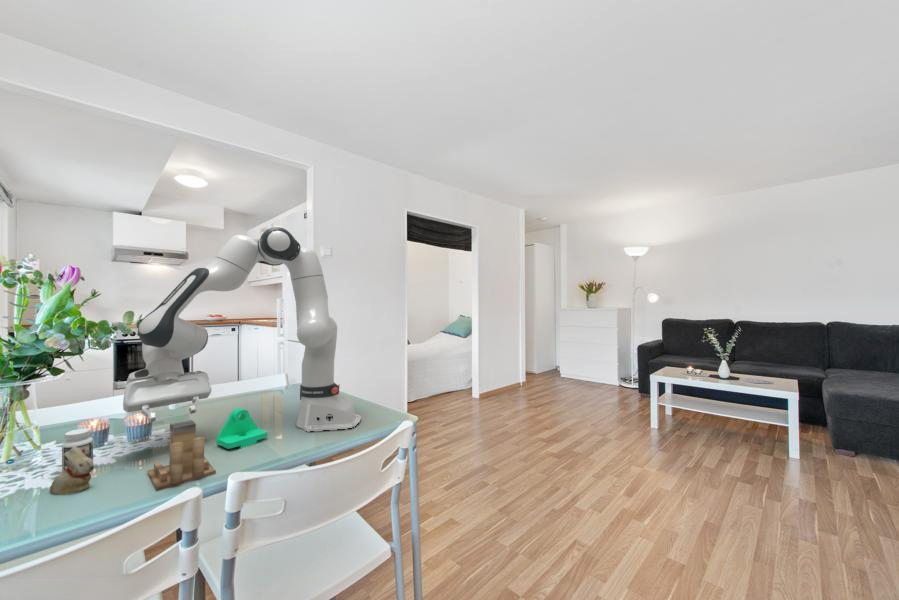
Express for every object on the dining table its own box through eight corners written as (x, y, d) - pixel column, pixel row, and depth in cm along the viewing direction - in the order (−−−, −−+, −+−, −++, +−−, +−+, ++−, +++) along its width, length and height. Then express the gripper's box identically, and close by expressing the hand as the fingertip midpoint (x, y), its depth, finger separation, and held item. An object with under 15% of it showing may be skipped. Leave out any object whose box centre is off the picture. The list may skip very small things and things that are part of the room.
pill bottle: (98, 466, 97) (99, 428, 97) (71, 476, 92) (71, 436, 92) (83, 463, 99) (84, 426, 99) (55, 473, 93) (56, 434, 93)
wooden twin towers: (147, 473, 93) (148, 435, 93) (202, 459, 102) (203, 424, 102) (157, 492, 85) (157, 450, 85) (216, 474, 93) (217, 436, 93)
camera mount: (228, 452, 107) (228, 417, 107) (216, 446, 111) (216, 412, 111) (268, 440, 117) (268, 408, 117) (255, 435, 121) (256, 403, 121)
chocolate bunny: (64, 499, 81) (65, 454, 81) (46, 491, 84) (46, 448, 84) (96, 487, 86) (96, 445, 86) (77, 480, 89) (78, 439, 89)
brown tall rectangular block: (169, 470, 94) (170, 423, 94) (190, 464, 97) (191, 419, 97) (173, 476, 91) (174, 427, 91) (194, 470, 94) (195, 423, 94)
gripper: (204, 375, 118) (213, 413, 112) (119, 387, 103) (124, 431, 97) (208, 364, 115) (218, 402, 109) (121, 375, 100) (127, 419, 94)
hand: (173, 416), depth 103 cm, fingers open, 8 cm apart
